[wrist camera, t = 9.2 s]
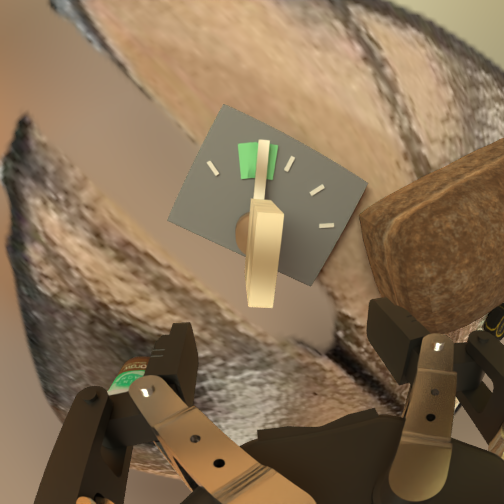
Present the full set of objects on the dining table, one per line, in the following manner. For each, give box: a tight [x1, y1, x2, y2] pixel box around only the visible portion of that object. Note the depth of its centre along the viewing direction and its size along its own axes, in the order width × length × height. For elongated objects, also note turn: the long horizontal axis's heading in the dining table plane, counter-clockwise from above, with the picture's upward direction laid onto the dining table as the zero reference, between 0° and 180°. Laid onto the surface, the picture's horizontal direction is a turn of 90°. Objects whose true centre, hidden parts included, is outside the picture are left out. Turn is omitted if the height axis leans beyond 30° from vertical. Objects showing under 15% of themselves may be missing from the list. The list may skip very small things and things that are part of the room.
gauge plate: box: [168, 104, 368, 286], centre depth 30 cm, size 13×17×2 cm
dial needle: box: [235, 139, 284, 308], centre depth 25 cm, size 12×4×10 cm, turn 175°
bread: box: [359, 138, 504, 334], centre depth 25 cm, size 15×32×16 cm, turn 116°
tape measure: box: [484, 303, 504, 340], centre depth 38 cm, size 7×7×4 cm
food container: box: [107, 357, 150, 395], centre depth 32 cm, size 12×6×10 cm, turn 109°
